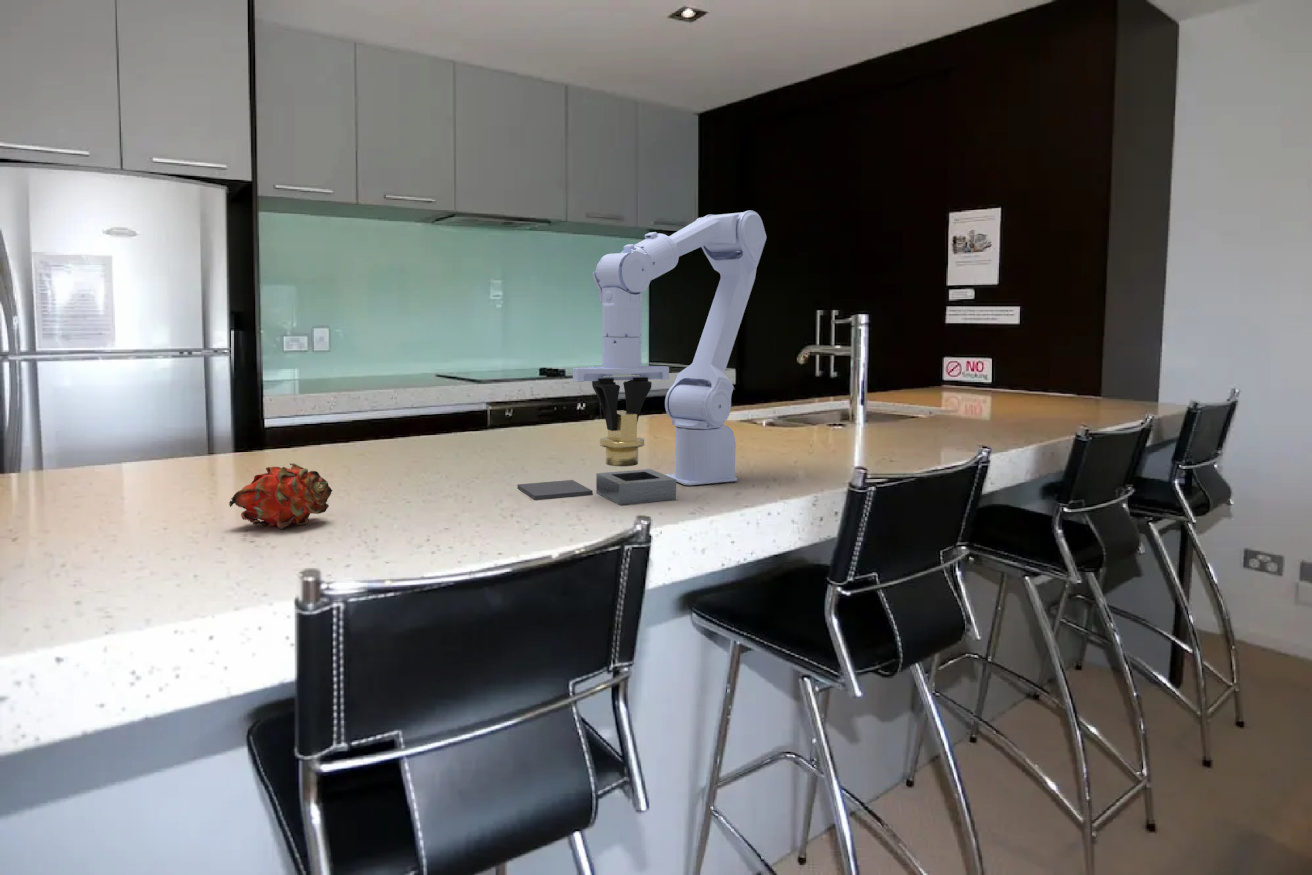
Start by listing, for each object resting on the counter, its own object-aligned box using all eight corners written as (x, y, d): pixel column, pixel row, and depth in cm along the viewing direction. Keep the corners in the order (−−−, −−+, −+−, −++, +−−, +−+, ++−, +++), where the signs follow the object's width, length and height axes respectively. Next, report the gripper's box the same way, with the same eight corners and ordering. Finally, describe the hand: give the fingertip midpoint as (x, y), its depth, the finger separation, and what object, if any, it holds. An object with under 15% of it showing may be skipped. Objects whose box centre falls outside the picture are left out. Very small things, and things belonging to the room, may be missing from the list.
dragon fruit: (341, 534, 109) (241, 556, 105) (334, 486, 115) (238, 505, 111) (330, 491, 103) (223, 512, 99) (323, 443, 109) (221, 461, 105)
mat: (572, 483, 134) (572, 479, 134) (592, 494, 126) (592, 490, 126) (517, 488, 131) (517, 484, 131) (534, 499, 123) (534, 495, 123)
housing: (650, 487, 132) (650, 468, 131) (676, 499, 123) (676, 479, 123) (596, 492, 128) (596, 473, 127) (619, 505, 120) (619, 484, 119)
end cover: (633, 458, 130) (633, 409, 128) (651, 465, 124) (652, 414, 123) (593, 461, 127) (593, 411, 126) (610, 468, 121) (610, 416, 120)
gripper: (654, 336, 129) (654, 423, 131) (565, 336, 123) (566, 428, 125) (675, 337, 123) (674, 429, 125) (582, 337, 117) (582, 434, 119)
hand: (621, 429), depth 125 cm, fingers closed on end cover, 2 cm apart
